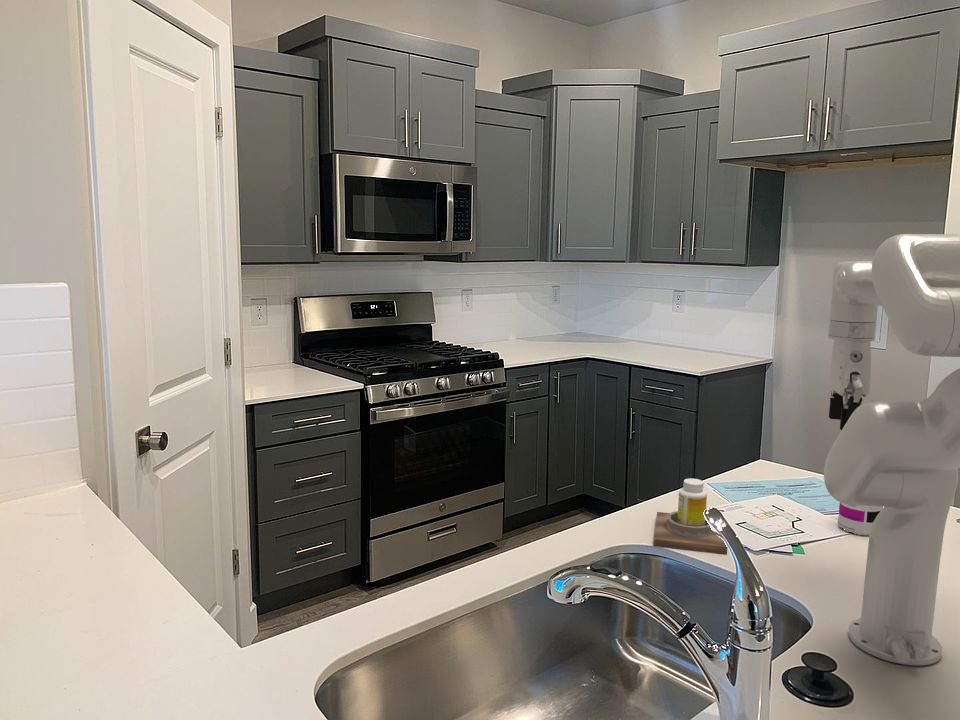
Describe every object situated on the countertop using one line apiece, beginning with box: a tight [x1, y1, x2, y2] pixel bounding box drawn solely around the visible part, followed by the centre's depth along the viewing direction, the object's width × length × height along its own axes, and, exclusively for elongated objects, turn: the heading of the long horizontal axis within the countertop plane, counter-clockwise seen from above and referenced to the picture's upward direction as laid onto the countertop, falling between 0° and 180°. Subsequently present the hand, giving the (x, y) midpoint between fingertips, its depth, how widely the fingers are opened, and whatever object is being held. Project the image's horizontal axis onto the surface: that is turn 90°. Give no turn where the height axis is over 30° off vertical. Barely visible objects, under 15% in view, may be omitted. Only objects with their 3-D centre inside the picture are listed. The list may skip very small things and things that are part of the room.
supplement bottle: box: [677, 478, 708, 527], centre depth 157 cm, size 6×6×10 cm
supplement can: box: [837, 502, 884, 537], centre depth 162 cm, size 8×8×15 cm
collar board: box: [653, 510, 728, 555], centre depth 158 cm, size 16×14×4 cm
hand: (843, 424), depth 138 cm, fingers open, 9 cm apart
